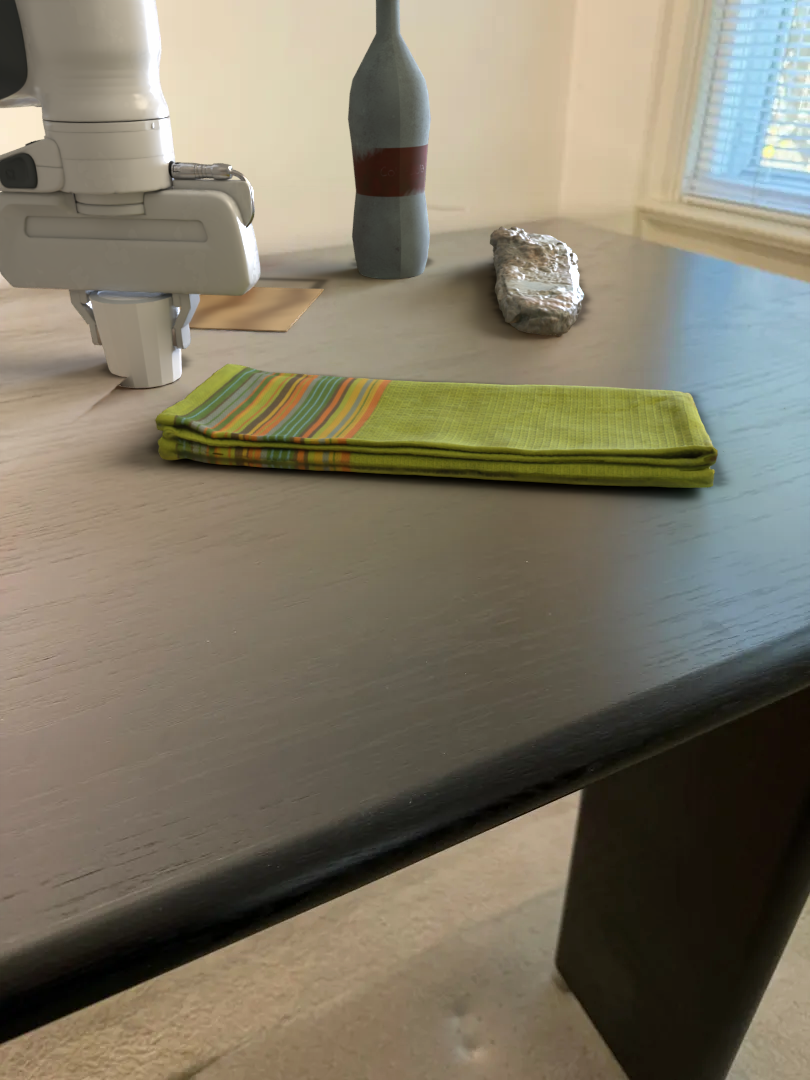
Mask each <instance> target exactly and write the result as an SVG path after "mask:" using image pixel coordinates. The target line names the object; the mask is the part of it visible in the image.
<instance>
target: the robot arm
mask: <svg viewBox="0 0 810 1080" xmlns="http://www.w3.org/2000/svg"><path fill="white" fill-rule="evenodd" d="M162 49H163V47H162V39H161V30H160V21H159V15H158V8H157V0H0V109H14V108H15V109H17V108H26V107H27V108H28V107H34V108H35V107H36V108H41V119H42V125H43V130H44V136H43V138H42V139H37V140H33V141H30V142H27V143H25V144H24V146H21V147H18V148H15V149H13V150H11V151H8V152H5V153H2V154H0V274H1V276H2V277H3V278H4V280H5V281H6V282H7V283H8V284H9V285H10V286H11V287H13V288H15V289H39V290H41V289H42V290H67V291H68V292H69V293H68V294H69V299H70V304H71V305H72V306H73V307H74V309H75V310H76V311H77V313H78V314H79V316H81V318H82V319H83V321H84V322H85V323H86V324H87V325H89V330H90V331H89V333H90V336H91V341H92V344H93V345H94V346H102V342H101V339H100V335H99V332H98V328H97V324H96V321H95V317H94V313H93V310H92V306H91V302H90V299H89V295H90V294H91V293H92V292H93V291H118V292H146V293H172V298H173V305H174V306H175V307H181V309H180V312H179V314H178V317H177V319H176V322H175V324H174V327H173V328H172V346H173V348H175V349H181V350H186V349H187V348H188V347H189V346H190V345H191V341H192V338H191V330H190V329H189V323H190V321H191V319H192V317H193V315H194V313H195V311H196V308H197V306H198V304H199V302H200V298H199V294H200V295H228V296H241V295H243V294H245V293H247V292H248V291H249V290H250V289H251V288H252V287H255V285H256V284H257V283H258V281H259V280H260V278H261V263H260V256H259V255H260V254H259V248H258V243H257V239H256V235H255V229H254V226H253V221H254V218H255V211H256V208H255V198H254V197H255V196H254V189H253V186H252V183H251V182H250V180H249V179H248V178H247V177H246V176H245V174H244V173H242V172H240V171H239V170H236V169H234V168H233V166H232V165H231V164H229V163H223V162H216V163H215V162H214V163H212V164H211V163H210V164H208V163H207V164H206V163H197V162H183V161H176V154H175V147H174V139H173V131H172V122H171V121H172V120H171V112H170V108H169V105H168V103H167V100H166V97H165V95H164V92H163V88H162V84H161V76H160V68H161V67H160V66H161V65H160V64H161V58H162ZM233 177H236V178H238V179H233Z"/></svg>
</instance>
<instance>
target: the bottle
mask: <svg viewBox="0 0 810 1080" xmlns="http://www.w3.org/2000/svg"><path fill="white" fill-rule="evenodd" d="M400 5H401V3H400V0H375V34H374V37H373V39H372V40H371V42H370V43H369V47H368V48H367V50H366V53H365V54H364V56H363V58H362V60H361V61H360V64H359V66H358V68H357V70H356V71H355V74H354V76H353V78H352V80H351V84H350V90H349V96H348V97H349V99H348V111H347V123H348V128H349V137H350V145H351V156H352V165H353V177H354V186H355V195H354V206H353V219H352V231H351V239H352V245H353V246H352V247H353V253H354V254H353V255H354V259H355V263H356V266H357V267H356V268H357V270H358V273H359V275H362V276H364V277H367V278H372V279H378V280H379V279H381V280H382V279H384V280H399V279H408V278H413V277H417V276H420V275H422V274H423V273H424V272H425V269H426V267H427V262H428V258H429V257H428V256H429V249H430V238H431V233H430V223H429V213H428V207H427V199H426V191H425V190H426V181H427V179H426V178H427V165H428V150H429V138H430V130H431V121H432V117H431V116H432V115H431V106H430V105H431V104H430V95H429V94H430V93H429V90H428V86H427V85H428V84H427V81H426V78H425V76H424V74H423V73H422V71H421V68H420V67H419V65H418V63H417V61H416V60H415V58H414V56H413V54H412V53H411V50H410V48H409V47H408V45H407V43H406V41H405V39H404V38H403V36H402V34H401V11H400V10H401V7H400Z"/></svg>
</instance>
